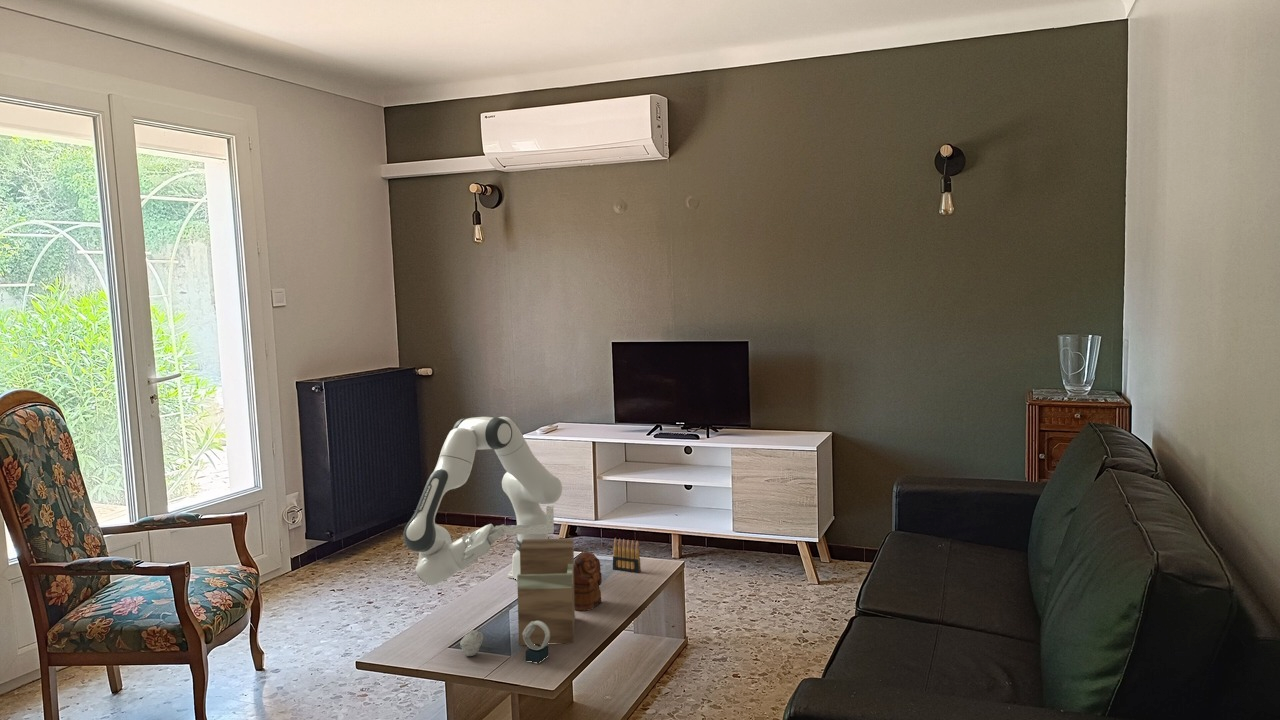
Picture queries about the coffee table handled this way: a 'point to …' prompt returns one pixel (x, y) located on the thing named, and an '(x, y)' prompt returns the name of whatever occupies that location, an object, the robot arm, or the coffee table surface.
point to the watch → (537, 650)
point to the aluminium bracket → (531, 526)
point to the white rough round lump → (471, 643)
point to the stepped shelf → (547, 589)
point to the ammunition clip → (626, 557)
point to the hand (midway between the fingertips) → (504, 528)
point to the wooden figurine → (587, 581)
